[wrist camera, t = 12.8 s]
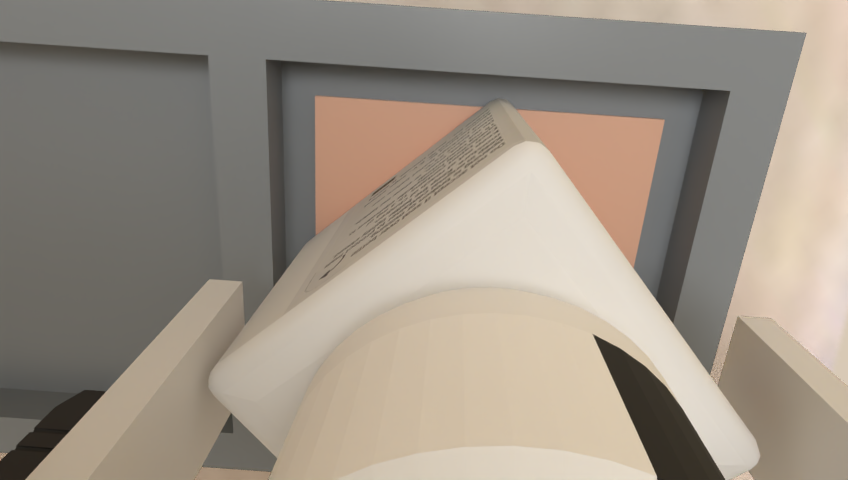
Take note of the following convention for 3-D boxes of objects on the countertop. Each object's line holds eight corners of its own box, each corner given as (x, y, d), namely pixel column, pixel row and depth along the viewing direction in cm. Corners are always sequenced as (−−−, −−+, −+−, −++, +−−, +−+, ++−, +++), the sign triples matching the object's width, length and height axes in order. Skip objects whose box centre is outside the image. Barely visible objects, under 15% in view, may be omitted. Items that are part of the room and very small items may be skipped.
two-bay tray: (-92, 396, 22) (-156, 441, 19) (-225, -34, 17) (-334, -45, 14) (649, 449, 22) (674, 500, 19) (754, 32, 16) (806, 32, 14)
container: (646, 292, 18) (1063, 856, 6) (448, 413, 20) (433, 1033, 7) (501, 90, 16) (645, 262, 4) (300, 245, 18) (-43, 695, 6)
